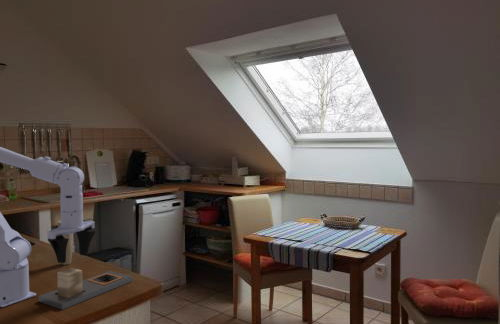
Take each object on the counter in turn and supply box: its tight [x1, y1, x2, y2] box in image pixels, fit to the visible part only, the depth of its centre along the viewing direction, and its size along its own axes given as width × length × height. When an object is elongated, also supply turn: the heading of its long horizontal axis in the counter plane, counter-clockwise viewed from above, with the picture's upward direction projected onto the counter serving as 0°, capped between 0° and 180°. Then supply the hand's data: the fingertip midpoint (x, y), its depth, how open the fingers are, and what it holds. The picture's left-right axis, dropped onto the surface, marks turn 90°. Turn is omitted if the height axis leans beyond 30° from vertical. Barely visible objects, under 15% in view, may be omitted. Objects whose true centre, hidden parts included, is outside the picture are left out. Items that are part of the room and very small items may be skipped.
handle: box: [57, 219, 73, 266], centre depth 140 cm, size 5×6×15 cm
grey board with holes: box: [38, 270, 133, 311], centre depth 117 cm, size 24×10×2 cm, turn 150°
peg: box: [56, 267, 84, 298], centre depth 111 cm, size 4×4×8 cm
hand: (72, 258), depth 113 cm, fingers open, 7 cm apart
